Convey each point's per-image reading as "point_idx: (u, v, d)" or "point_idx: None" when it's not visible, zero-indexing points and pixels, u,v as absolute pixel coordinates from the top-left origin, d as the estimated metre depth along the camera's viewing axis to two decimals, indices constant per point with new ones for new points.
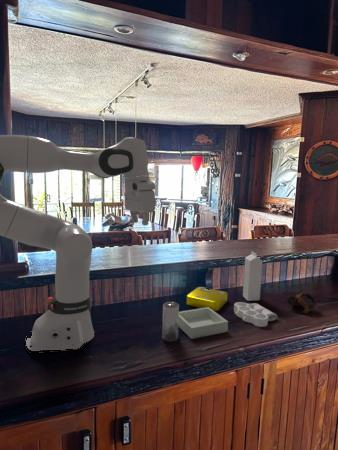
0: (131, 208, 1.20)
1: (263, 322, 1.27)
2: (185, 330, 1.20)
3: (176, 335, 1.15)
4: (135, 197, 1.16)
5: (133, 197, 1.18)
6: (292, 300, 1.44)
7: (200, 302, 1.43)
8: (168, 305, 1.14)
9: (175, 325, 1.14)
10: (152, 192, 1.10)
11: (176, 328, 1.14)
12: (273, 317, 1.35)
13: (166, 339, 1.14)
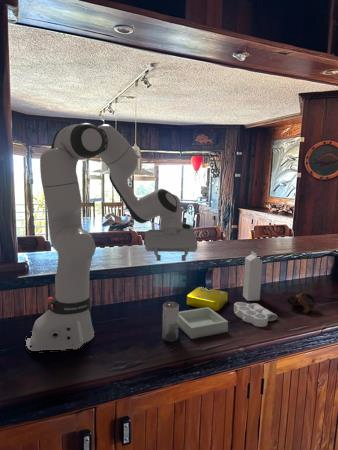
0: (164, 245, 1.27)
1: (262, 322, 1.27)
2: (185, 330, 1.20)
3: (176, 335, 1.15)
4: (174, 236, 1.30)
5: (169, 236, 1.30)
6: (292, 300, 1.44)
7: (200, 302, 1.43)
8: (168, 305, 1.14)
9: (175, 325, 1.14)
10: None
11: (176, 328, 1.14)
12: (273, 317, 1.35)
13: (166, 339, 1.14)
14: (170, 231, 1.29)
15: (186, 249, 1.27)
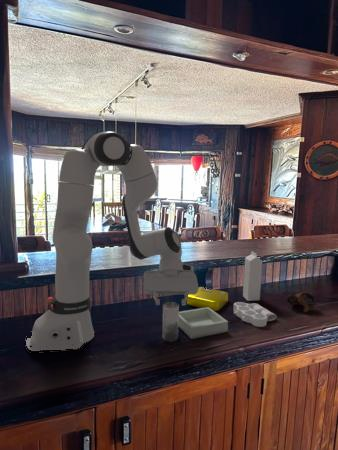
0: (163, 288, 1.21)
1: (261, 322, 1.27)
2: (185, 330, 1.20)
3: (176, 335, 1.15)
4: (174, 278, 1.24)
5: (169, 278, 1.24)
6: (292, 299, 1.45)
7: (200, 301, 1.44)
8: (168, 305, 1.14)
9: (175, 325, 1.14)
10: None
11: (176, 328, 1.14)
12: (272, 317, 1.34)
13: (166, 339, 1.14)
14: (170, 273, 1.24)
15: (186, 292, 1.21)
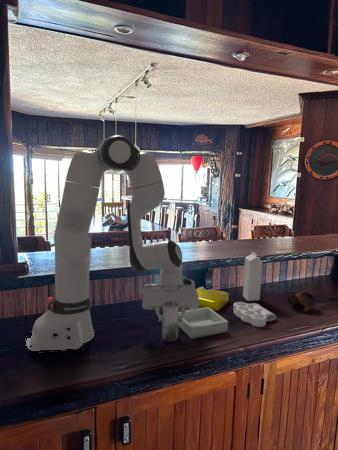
0: (163, 303, 1.17)
1: (261, 322, 1.27)
2: (185, 330, 1.20)
3: (176, 335, 1.15)
4: (174, 293, 1.20)
5: (169, 293, 1.20)
6: (292, 299, 1.45)
7: (200, 301, 1.44)
8: (168, 305, 1.14)
9: (175, 325, 1.14)
10: None
11: (176, 328, 1.14)
12: (272, 317, 1.34)
13: (166, 339, 1.14)
14: (170, 288, 1.19)
15: (183, 308, 1.17)
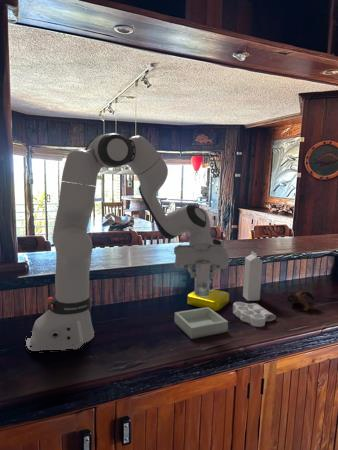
0: (195, 261, 1.24)
1: (259, 322, 1.27)
2: (185, 330, 1.20)
3: (208, 290, 1.22)
4: (205, 252, 1.26)
5: (200, 252, 1.26)
6: (292, 298, 1.46)
7: (200, 301, 1.44)
8: (200, 262, 1.21)
9: (207, 281, 1.21)
10: None
11: (208, 283, 1.21)
12: (271, 317, 1.34)
13: (199, 294, 1.21)
14: (201, 247, 1.26)
15: (214, 266, 1.24)
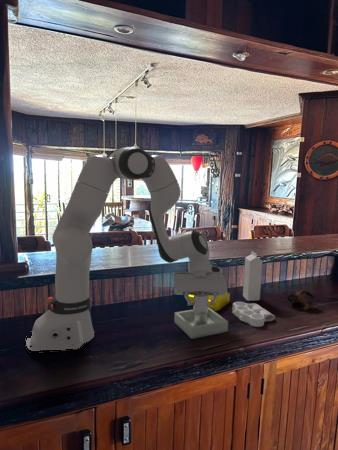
0: (194, 289, 1.25)
1: (258, 322, 1.27)
2: (185, 330, 1.20)
3: (206, 322, 1.24)
4: (203, 280, 1.28)
5: (198, 280, 1.28)
6: (292, 297, 1.47)
7: None
8: (199, 294, 1.23)
9: (205, 313, 1.22)
10: None
11: (206, 315, 1.23)
12: (271, 318, 1.34)
13: None
14: (199, 274, 1.28)
15: (215, 293, 1.25)
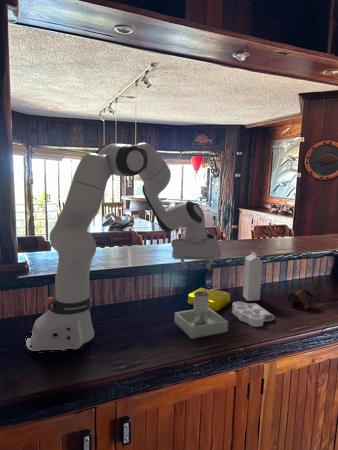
0: (190, 253, 1.37)
1: (257, 322, 1.27)
2: (185, 330, 1.20)
3: (206, 322, 1.24)
4: (199, 245, 1.39)
5: (195, 245, 1.39)
6: (292, 297, 1.48)
7: None
8: (199, 294, 1.23)
9: (205, 313, 1.22)
10: None
11: (206, 315, 1.23)
12: (270, 318, 1.34)
13: None
14: (196, 241, 1.39)
15: (211, 258, 1.37)
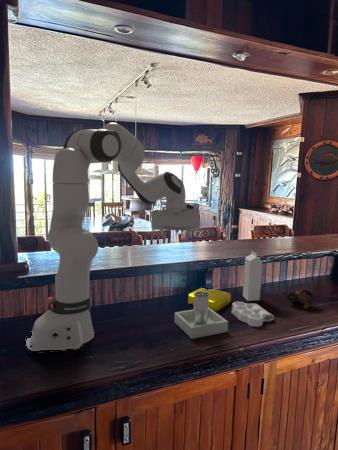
0: (169, 223, 1.37)
1: (257, 322, 1.27)
2: (185, 330, 1.20)
3: (206, 322, 1.24)
4: (179, 216, 1.39)
5: (174, 216, 1.39)
6: (292, 296, 1.48)
7: None
8: (199, 294, 1.22)
9: (205, 313, 1.22)
10: None
11: (206, 316, 1.23)
12: (270, 318, 1.34)
13: None
14: (175, 211, 1.39)
15: (190, 227, 1.36)
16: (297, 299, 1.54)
